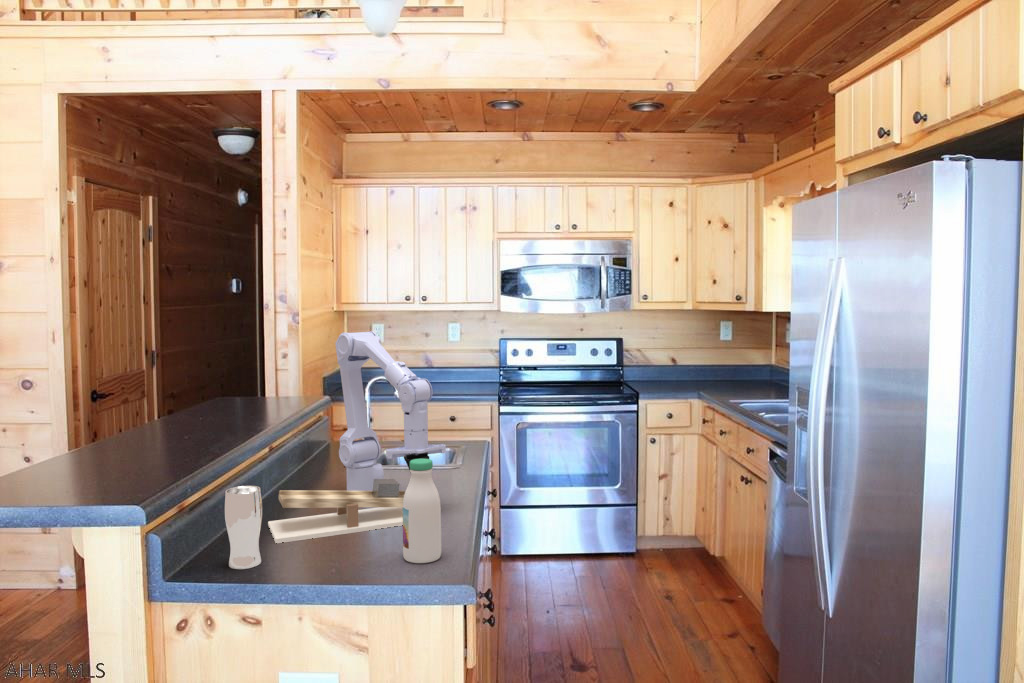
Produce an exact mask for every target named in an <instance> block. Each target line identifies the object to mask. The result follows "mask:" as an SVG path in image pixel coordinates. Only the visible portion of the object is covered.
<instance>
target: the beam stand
mask: <svg viewBox="0 0 1024 683" xmlns="http://www.w3.org/2000/svg"><path fill="white" fill-rule="evenodd" d="M402 525H403V507H369V508H364V509H359V507H358V504H349V505H346V507H341V508H336V512H332V513H324V514H317V515H309V516H301V517H293V518H292V517H291V518H285V519H278V520H269V521H267V526H268V528H270V529H269V532H270V533H272V534H271V536H272V538H274V539H273V541H274V543H275V544H276V543H277V544H282V542H284V543H289V542H290V543H291V542H296V541H297V542H298V541H304V540H311V539H312V538H313V539H318V538H319V539H320V538H326V537H332V536H339V535H340V536H341V535H347V534H353V533H354V534H355V533H362V532H369V530H370V531H376V530H375V529H377V530H382V529H381V528H384V529H388V528H387V527H391V528H395V527H394V526H398V527H403V526H402Z"/></svg>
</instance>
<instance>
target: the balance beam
mask: <svg viewBox="0 0 1024 683" xmlns="http://www.w3.org/2000/svg"><path fill="white" fill-rule="evenodd" d="M405 492H406V490H399V494H398V498H374V497H373V496H372V491H347V490H321V489H320V490H315V489H313V490H312V489H311V490H306V489H305V490H301V489H300V490H293V489H289V490H287V489H285V490H282V489H280V490H279V491H278V501H279V503H280V504H281V507H282V508H283V509H296V508H298V509H299V508H301V509H304V508H305V509H306V508H308V509H309V508H312V509H313V508H318V509H319V508H320V509H321V508H323V509H325V508H326V509H327V508H331V509H332V508H336V509H337V508H341V507H346V505H349V504H358V508H377V507H403V499H404V494H405Z"/></svg>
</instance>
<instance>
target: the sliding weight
mask: <svg viewBox="0 0 1024 683" xmlns="http://www.w3.org/2000/svg"><path fill="white" fill-rule="evenodd" d="M400 485H401V484H400V482H398V481H397V480H396V479H395V478H384V479H374V481H373V491H372V496H373V497H374V498H398V494H399V491H400Z"/></svg>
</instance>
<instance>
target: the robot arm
mask: <svg viewBox="0 0 1024 683" xmlns="http://www.w3.org/2000/svg"><path fill="white" fill-rule="evenodd" d="M381 341H382V339H381V337H380V336H379V335H377V333H376V332H374V331H373V330H371V331H361V332H341V333H340V334H339V336H338V337H337V339H336V341H335V343H334V344H335V351H336V358H337V365H339V371H340V377H341V378H340V379H341V380H340V382H341V387H342V395H343V403H344V410H345V418H346V426H347V430H345V432H344V433H343V434H342V435H341V436H340V437H339V450H338V457H339V459H340V461H341V463H342V464H343V466H344V467H345V469H346V472H345V473H346V491H373V481H374V479H385V477H384V476H385V475H384V468H383V465H382V464H381V463H379V462H377V460H378V459H380V456H381V450H382V448H381V444H380V442H379V439H378V435H377V432H376V431H374V430H373V429H372V428H370V426H369V424H368V417H367V407H366V401H365V400H366V399H365V392H364V387H363V386H364V385H363V379H362V378H363V377H362V370H361V369H362V367H363V366H364V364H366V363H368V362H369V361H370V360H371V361H373V362H374V363H375V364H376V365H377V366H378V367H379V368H380V369H382V370H383V371H384V378H385V379H386V380H387V382H388V383H390V385H391V386H392V387H393V388H394V389H395V390H396V391H397V394H398V400H399V402H400V403H401V409H402V412H403V429H404V430H403V435H404V436H403V438H404V440H403V442H404V446H399V447H395V448H388V449H387V448H386V450H385V457H386V459H387V460H388V459H389V460H390V459H395V458H402V457H403V459H404V461H405V463H406V465H407V468H408V469H409V472H410V461H411V460H414V459H430V456H429V455H433V454H446V453H447V448H446V447H447V446H446V444H444V443H441V444H439V443H438V444H429V429H428V428H429V423H428V422H429V421H428V420H429V418H428V417H429V416H428V415H429V414H428V405H429V404H428V403H429V402H430V401H431V400H432V397H433V387H432V384H431V382H430V381H429V380H428V379H427V378H421V377H419V376H417V374H415V373H414V372H413V371H412V370H410V369H409V367H408V366H407V364H406V363H405V362H404V361H399V360H397V361H396V360H395V359H394V358H393V357H392V356H391V354H389V352H388V351H387V350H386V349H385V348H384V346H383V345H382V342H381ZM410 474H411V472H410Z"/></svg>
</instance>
